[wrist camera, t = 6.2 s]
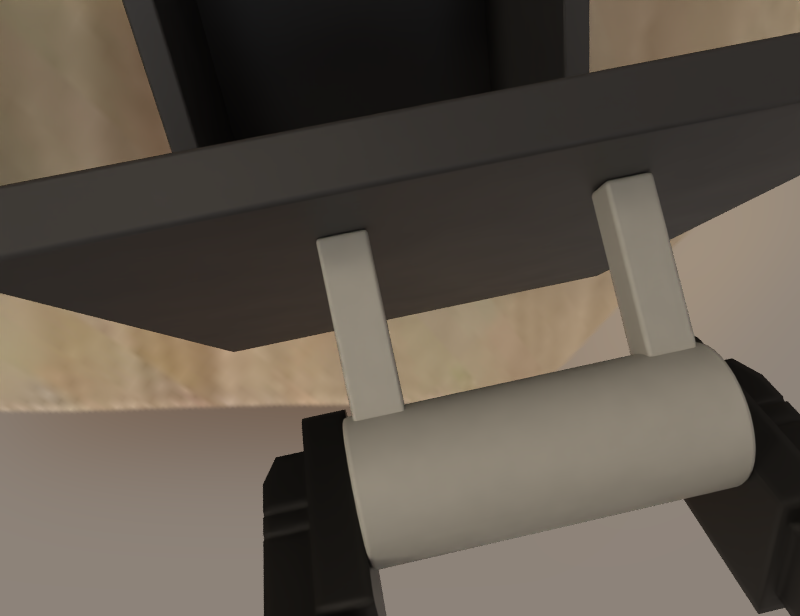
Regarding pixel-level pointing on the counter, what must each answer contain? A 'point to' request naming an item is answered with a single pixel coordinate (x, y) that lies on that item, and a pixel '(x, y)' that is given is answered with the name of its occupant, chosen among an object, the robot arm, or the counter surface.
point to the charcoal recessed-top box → (340, 58)
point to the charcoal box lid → (453, 277)
